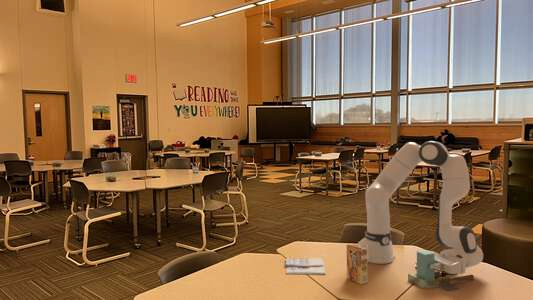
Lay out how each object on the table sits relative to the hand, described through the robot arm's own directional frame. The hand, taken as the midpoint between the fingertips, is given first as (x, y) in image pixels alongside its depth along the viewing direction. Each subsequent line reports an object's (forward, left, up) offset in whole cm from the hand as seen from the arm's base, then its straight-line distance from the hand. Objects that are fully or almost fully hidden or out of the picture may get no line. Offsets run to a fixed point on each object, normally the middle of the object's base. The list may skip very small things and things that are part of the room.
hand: (423, 264), depth 174 cm
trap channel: (0, +8, -8) cm, 12 cm away
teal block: (0, +1, -7) cm, 7 cm away
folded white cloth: (-37, -39, -9) cm, 54 cm away
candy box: (-13, -25, -9) cm, 29 cm away
